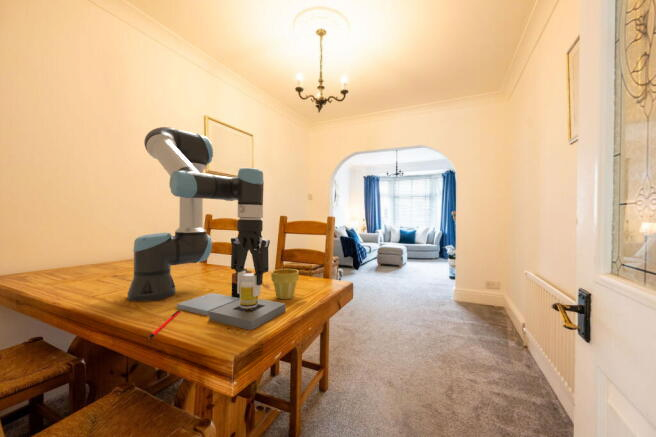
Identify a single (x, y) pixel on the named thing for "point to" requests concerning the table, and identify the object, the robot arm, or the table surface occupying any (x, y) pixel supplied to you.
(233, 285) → the battery
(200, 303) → the blue-grey tile
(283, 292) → the plant pot
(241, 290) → the supplement bottle
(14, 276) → the table surface
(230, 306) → the pocket holder
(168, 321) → the pen
